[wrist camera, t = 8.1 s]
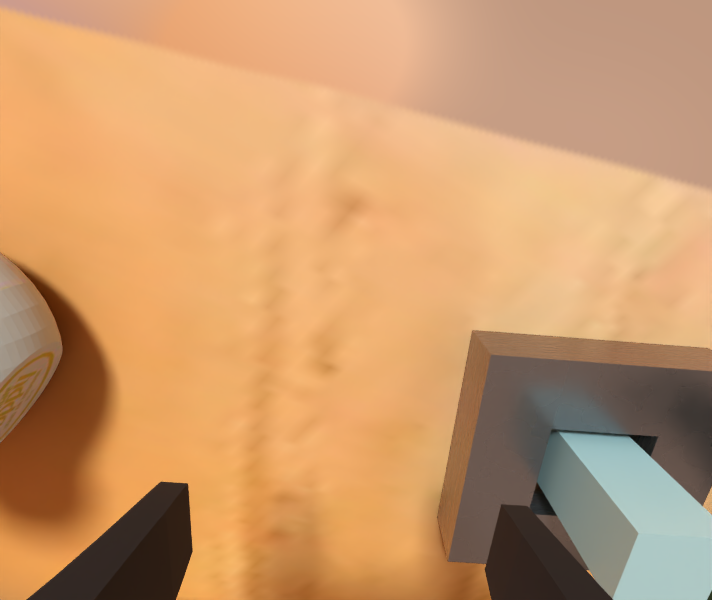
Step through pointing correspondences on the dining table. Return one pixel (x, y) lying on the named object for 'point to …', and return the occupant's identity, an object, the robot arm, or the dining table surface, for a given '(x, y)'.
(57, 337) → the air freshener
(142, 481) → the dining table surface
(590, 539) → the plug
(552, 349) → the port block
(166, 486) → the robot arm
